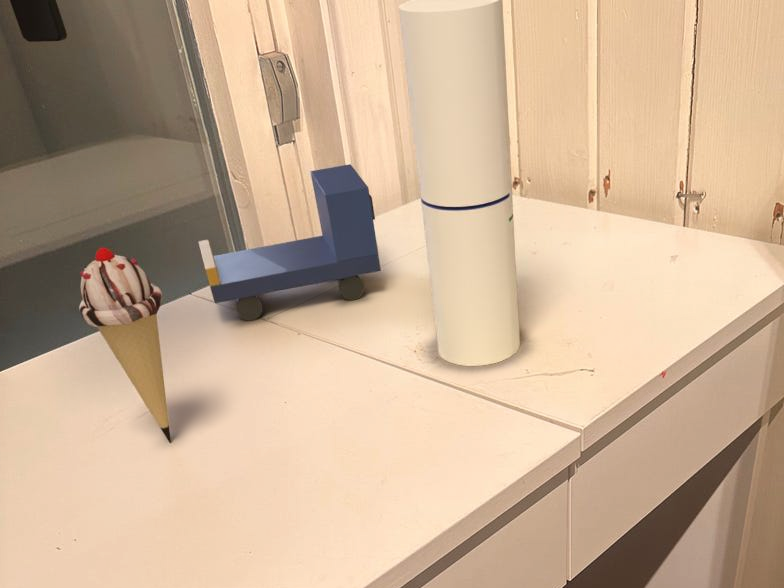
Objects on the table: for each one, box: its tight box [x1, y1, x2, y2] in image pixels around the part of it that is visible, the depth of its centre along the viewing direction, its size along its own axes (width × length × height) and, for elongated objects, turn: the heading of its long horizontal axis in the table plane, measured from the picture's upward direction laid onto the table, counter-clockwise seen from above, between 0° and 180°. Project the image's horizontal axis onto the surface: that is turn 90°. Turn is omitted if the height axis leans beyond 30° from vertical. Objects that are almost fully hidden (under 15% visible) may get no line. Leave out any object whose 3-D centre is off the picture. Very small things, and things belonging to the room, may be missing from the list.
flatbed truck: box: [198, 163, 382, 321], centre depth 88 cm, size 16×8×10 cm, turn 108°
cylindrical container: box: [398, 0, 521, 367], centre depth 71 cm, size 7×7×25 cm
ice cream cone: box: [78, 247, 172, 444], centre depth 66 cm, size 6×6×15 cm
